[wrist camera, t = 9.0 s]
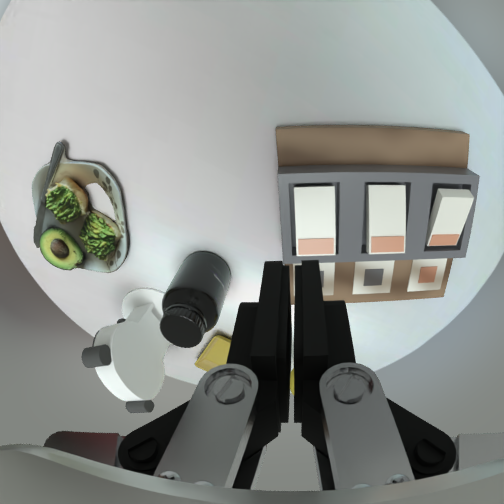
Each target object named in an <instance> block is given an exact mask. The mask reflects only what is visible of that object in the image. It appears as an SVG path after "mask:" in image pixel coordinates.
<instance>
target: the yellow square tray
mask: <svg viewBox="0 0 504 504" xmlns="http://www.w3.org/2000/svg"><path fill="white" fill-rule="evenodd" d="M230 344H231V340H230V339H228V338H226V337H223V336H221V335H217V336H214V337H213V339H212V340H211V341H210V343H209V344H208V346H207V347H206V349H205V350H204V351H203V353H202V354H201V356H200V357H199V358H198V360H197V361H196V363H195V366H196V367H198V368H201V369H203V370H205V371H207V372H208V371H209V370H210V369H212V368H214V367H217V366H219V365H224V364H226V362H227V357H228V353H229V348H230Z"/></svg>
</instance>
